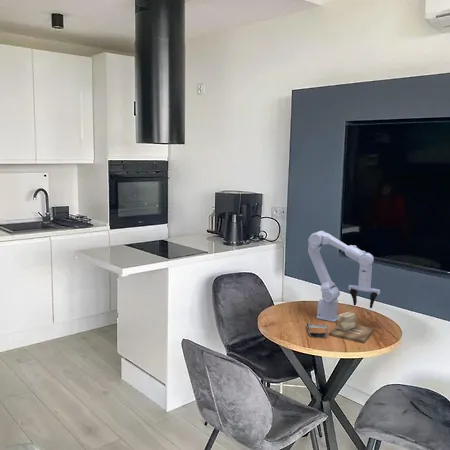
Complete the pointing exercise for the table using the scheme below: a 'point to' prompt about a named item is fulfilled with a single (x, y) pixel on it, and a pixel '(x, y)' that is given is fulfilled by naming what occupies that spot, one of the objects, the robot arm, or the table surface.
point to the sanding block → (346, 321)
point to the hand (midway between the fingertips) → (362, 306)
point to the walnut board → (353, 333)
